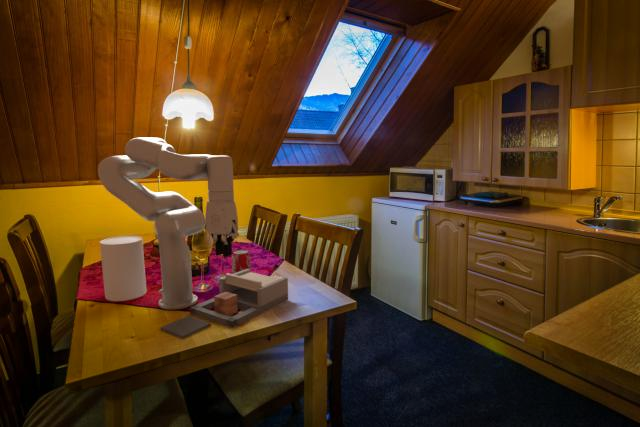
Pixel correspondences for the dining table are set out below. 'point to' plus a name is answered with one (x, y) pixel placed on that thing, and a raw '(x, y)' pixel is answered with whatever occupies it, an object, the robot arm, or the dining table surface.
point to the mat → (185, 326)
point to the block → (226, 303)
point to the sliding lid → (249, 280)
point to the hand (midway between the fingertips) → (223, 254)
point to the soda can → (240, 261)
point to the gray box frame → (245, 301)
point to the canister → (123, 267)
